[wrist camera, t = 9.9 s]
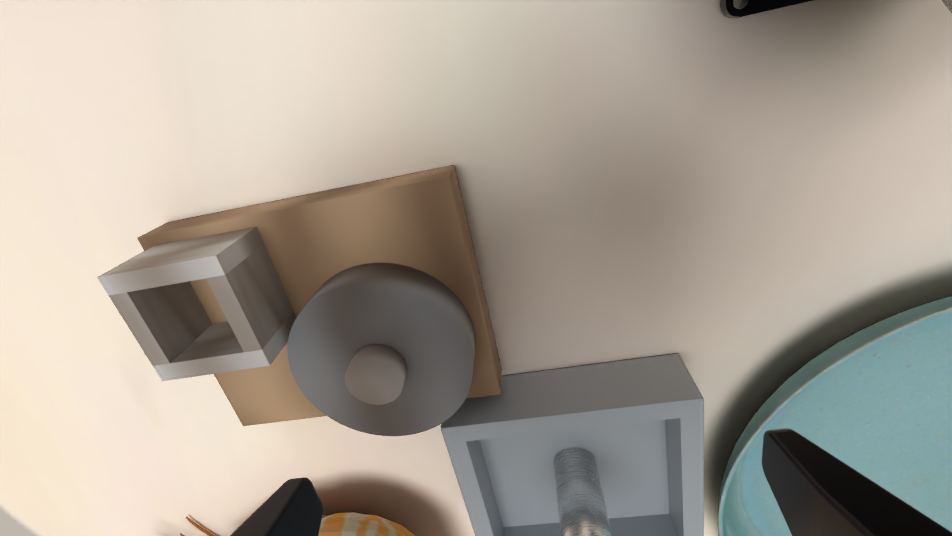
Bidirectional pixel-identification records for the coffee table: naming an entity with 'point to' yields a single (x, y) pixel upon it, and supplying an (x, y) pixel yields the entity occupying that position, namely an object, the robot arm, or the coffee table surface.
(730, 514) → the teal round plate
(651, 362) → the tray
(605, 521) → the lock pin
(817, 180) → the coffee table surface
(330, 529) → the nautilus
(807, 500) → the robot arm
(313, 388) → the pulley block
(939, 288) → the coffee table surface
